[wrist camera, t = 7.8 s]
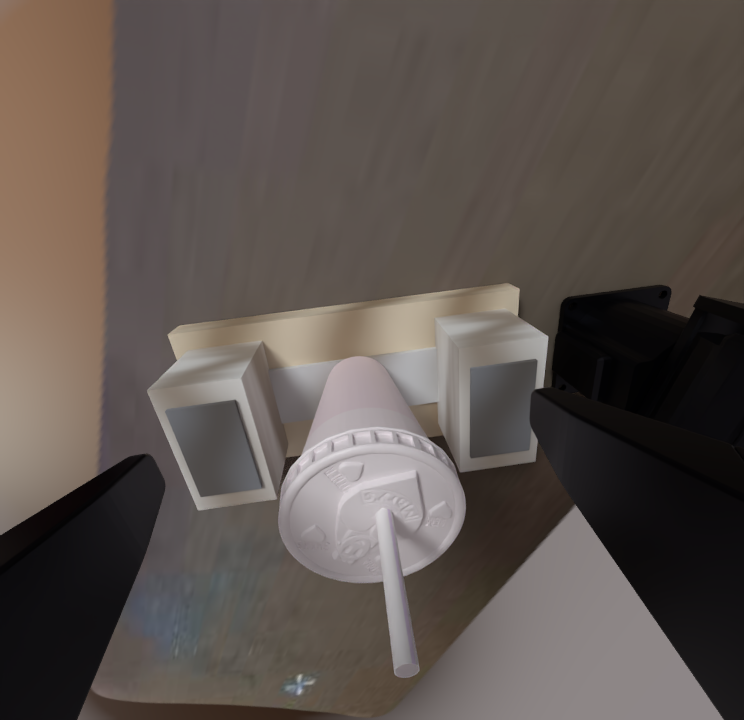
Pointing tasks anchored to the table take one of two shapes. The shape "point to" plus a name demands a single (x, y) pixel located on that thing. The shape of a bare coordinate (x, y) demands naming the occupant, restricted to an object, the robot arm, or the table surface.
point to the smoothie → (371, 494)
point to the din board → (310, 373)
